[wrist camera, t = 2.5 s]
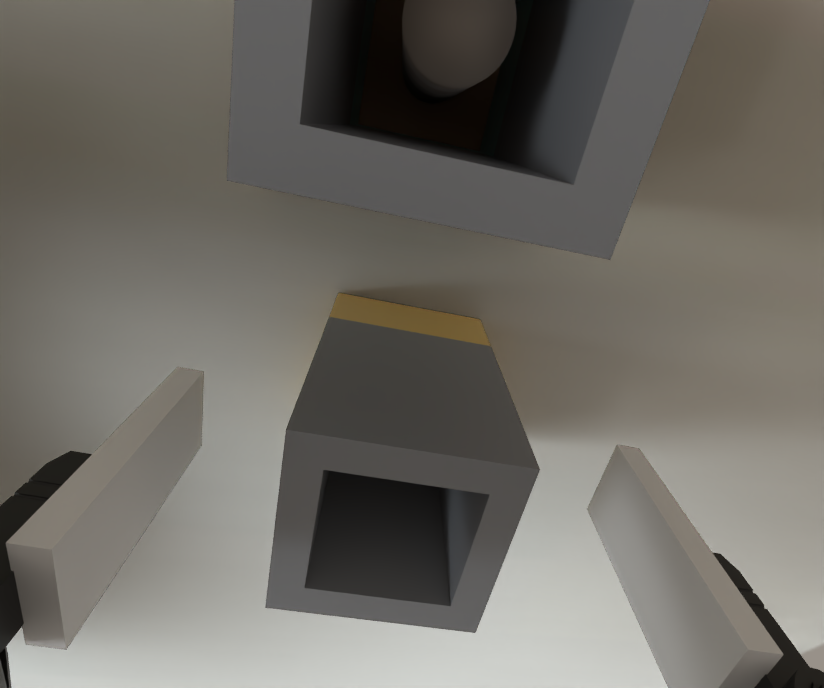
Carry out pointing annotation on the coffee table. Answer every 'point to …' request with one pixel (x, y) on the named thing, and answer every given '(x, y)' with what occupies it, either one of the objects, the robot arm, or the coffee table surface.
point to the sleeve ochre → (399, 471)
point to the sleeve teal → (505, 129)
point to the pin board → (399, 106)
